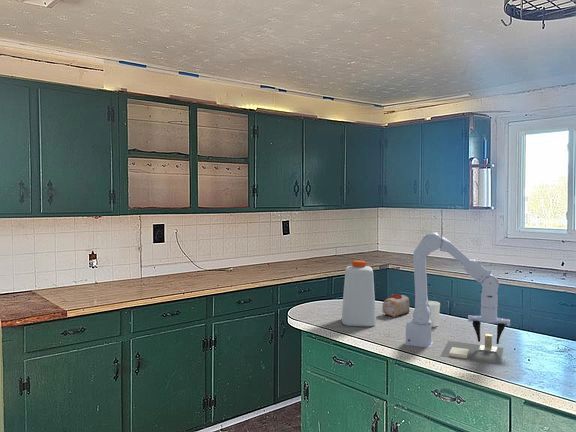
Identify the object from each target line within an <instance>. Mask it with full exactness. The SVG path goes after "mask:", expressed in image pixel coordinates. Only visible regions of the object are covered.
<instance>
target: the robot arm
mask: <svg viewBox="0 0 576 432" xmlns="http://www.w3.org/2000/svg"><path fill="white" fill-rule="evenodd" d="M438 249H439V252H442V253H443V252H445V253H448V254H450V256H451V257H453V258H454V259H455V260H457V262H459V263H460V264H462V265H463V268H464V269H463V270H464V272H465V273H467V274H468V275H469V276H470V277H471V278H473V280H475V281H476V282H477V283H480V284H481V287H482V288H481V294H480V300H481V301H480V315H469V314H468V316H467V322H468V323H469V322H472V327H473V329H474V331H475V335H476V338H477V342H478V343H480V342H481V323H483V324H492V325H493V324H494V325H497V326H496V343H495V344H496V345H499V344H500V338H501V335H502V334H503V332H504V329H505V326H507V327H510V326H511V319H509V318H503V317H502V318H501V317H498V306H499V304H498V300H499V299H498V298H499V295H498V289H499V286H500V283H499V281H498V278H497V276H496V275H495V274H494V273H493V272H492V270H490V269H487V268H486V267H485V266H483V265H482V262H481V260H477V259H474V258H473V259H470V258H469V257H468V256H467V255H466V254H465V253H463V252H462V250H460V249H459V248H458V247H457V246H456V245H455V244H454V243H452V241H450V240H449V239H447V237H444V236H442V235H441V234H440V233H439V232H437V231H431V232H428V233H427V234H426V235H424V236H423V238H422V239H421V240H420V241H419V243H418V245H417V247H416V248H415V249H414V251H413V256H412V257H413V275H414V276H413V277H414V298H415V299H414V310H413V311H412V319H411V320H407V321H406V323H405V324H406V326H405V346H413V347H422V348H427V349H430V348H431V347H432V345H433V344H434V341H433V340H432V327H431V320H430V319H429V318H430V314H431V308H430V306H429V304H428V301H429V299H428V277H427V276H428V275H427V257H428V256H429V255H430V254H431V253H433V252H435V251H437V250H438Z"/></svg>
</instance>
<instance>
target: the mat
mask: <svg viewBox="0 0 576 432" xmlns="http://www.w3.org/2000/svg"><path fill="white" fill-rule="evenodd" d="M480 345H481V344H477V343H476V344H474V343H468V342H460V341H459V342H458V341H452V340H448V341H447V343H446V345H445V347H444V348H443V350H442V352H441V354H440V357H442V358H450V359H456V360H457V359H458V360H463V361H471V362H477V363H484V364H485V363H486V364H492V365H499V366H500V365H501V363H502V359H503V358H502V357H503V352H504V347H501V346H500V347H499V346H496V347H497V353H491V352H483V351H479V348H480ZM452 347H456V348H463V349H469V354H468V357H467V359H465V358H458V357H451V356H449V352H450V350H451V348H452Z"/></svg>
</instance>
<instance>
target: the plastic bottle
mask: <svg viewBox="0 0 576 432" xmlns="http://www.w3.org/2000/svg"><path fill="white" fill-rule="evenodd" d="M373 270H374V269H373V268H372V267H371V266H369V265H367V262H366V261H365V260H363V259H362V260H360V259H358V260H357V259H356V260H353V261H352V262H351V265H348V266H346V267H345V271H344V281H343V282H344V285H343V295H342V296H343V297H342V309H341V310H342V311H341V322H342V323H341V324H343V325H344V326H347V327H348V326H349V327H365V328H366V327H367V328H369V327H373V326H375V325H377V315H376V313H377V312H376V299H375V298H376V297H375V296H376V295H375V282H374V271H373Z"/></svg>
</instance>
